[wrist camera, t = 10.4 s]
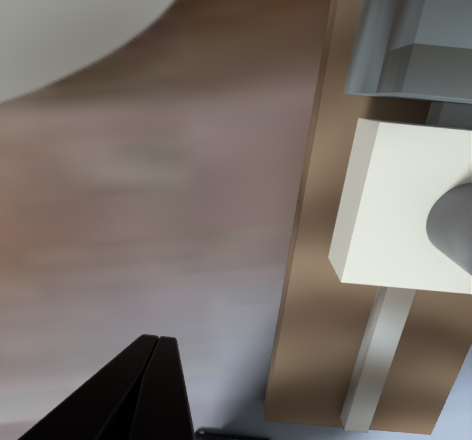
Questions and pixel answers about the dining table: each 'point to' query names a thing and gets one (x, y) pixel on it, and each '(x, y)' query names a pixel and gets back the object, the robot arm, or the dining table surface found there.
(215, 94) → the dining table surface
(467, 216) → the carriage
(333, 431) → the dining table surface
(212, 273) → the dining table surface
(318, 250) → the rail board
